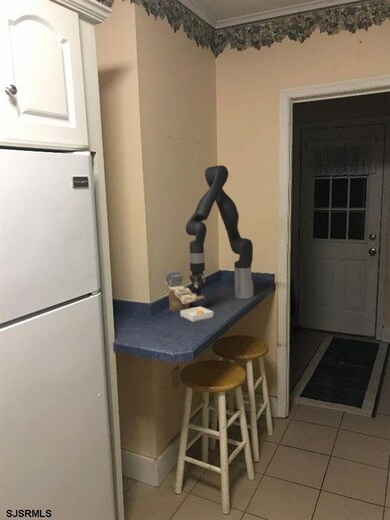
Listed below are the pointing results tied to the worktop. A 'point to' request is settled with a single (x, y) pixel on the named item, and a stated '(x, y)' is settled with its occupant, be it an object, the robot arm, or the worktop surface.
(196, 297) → the lever
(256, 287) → the worktop surface
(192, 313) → the dish
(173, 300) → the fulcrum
